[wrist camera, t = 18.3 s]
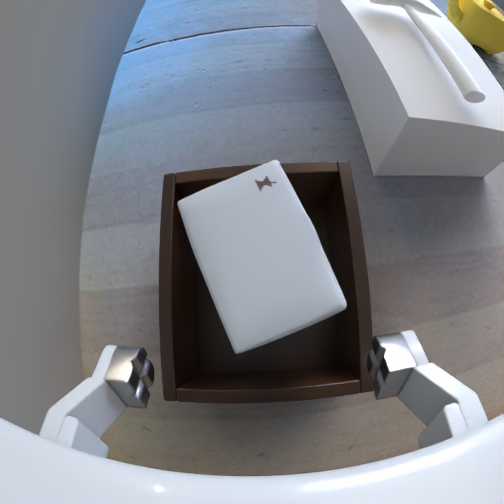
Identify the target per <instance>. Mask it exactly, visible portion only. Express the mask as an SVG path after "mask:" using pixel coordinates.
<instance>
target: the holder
mask: <svg viewBox="0 0 504 504" xmlns="http://www.w3.org/2000/svg"><path fill="white" fill-rule="evenodd" d="M261 165H263V164H257V165H244V166H232V167H221V168H212V169H202V170H194V171H185V172H178V173H176V174H175V173H170V174H165V175H164V181H163V193H162V208H161V226H160V251H159V325H160V350H161V368H162V382H163V394H164V400H166V401H178V402H195V403H270V402H287V401H300V400H311V399H320V398H329V397H337V396H344V395H351V394H357V393H363V392H369V391H373V387H372V384H373V382H374V379H373V378H372V377H371V376H369V373H368V369H367V356H368V352H369V351H370V350H371V349H372V348H373V347H372V344H371V342H372V339H373V336H372V319H371V306H370V294H369V284H368V274H367V265H366V257H365V250H364V242H363V235H362V229H361V222H360V216H359V210H358V205H357V199H356V194H355V189H354V184H353V179H352V174H351V169H350V164H349V161H337V162H336V161H321V162H292V163H280V165H281V167H282V169H283V170H284V172H285V174H286V176H287V178H288V180H289V182H290V183H291V185H292V187H293V189H294V191H295V193H296V195H297V197H298V199H299V200H300V202H301V204H302V206H303V208H304V210H305V212H306V214H307V215H308V217H309V218H310V220H311V222H312V224H313V226H314V228H315V230H316V233H317V235H318V238H319V240H320V243H321V246H322V248H323V250H324V253H325V255H326V257H327V259H328V262H329V264H330V266H331V268H332V271H333V273H334V275H335V277H336V279H337V282H338V284H339V286H340V288H341V291H342V293H343V295H344V297H345V300H346V304H347V306H346V309H345V310H343V311H341V312H339V313H337V314H335V315H333V316H331V317H328V318H326V319H324V320H322V321H320V322H317V323H315V324H313V325H311V326H308V327H306V328H304V329H301V330H299V331H297V332H294V333H292V334H289V335H287V336H284V337H282V338H280V339H277V340H275V341H272V342H270V343H267V344H264V345H262V346H259V347H256V348H254V349H251V350H248V351H245V352H242V353H239V354H237V353H235V352H234V350H233V347H232V344H231V342H230V340H229V338H228V335H227V333H226V330H225V328H224V326H223V323H222V321H221V318H220V316H219V314H218V311H217V309H216V306H215V304H214V301H213V299H212V296H211V294H210V291H209V289H208V286H207V284H206V281H205V279H204V276H203V274H202V272H201V269H200V267H199V264H198V262H197V260H196V257H195V255H194V252H193V249H192V247H191V244H190V241H189V238H188V235H187V232H186V229H185V226H184V223H183V220H182V217H181V214H180V211H179V208H178V201H180V200H182V199H184V198H186V197H188V196H190V195H192V194H194V193H197V192H199V191H201V190H203V189H206V188H208V187H210V186H213V185H215V184H217V183H220V182H222V181H225V180H227V179H230V178H232V177H234V176H237V175H239V174H241V173H244V172H246V171H249V170H251V169H253V168H256V167H258V166H261Z"/></svg>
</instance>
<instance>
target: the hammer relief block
mask: <svg viewBox="0 0 504 504" xmlns="http://www.w3.org/2000/svg"><path fill="white" fill-rule="evenodd" d="M316 25H317V27H318V29H319V31H320V33H321V35H322V37H323V39H324V42H325V44H326V46H327V48H328V50H329V52H330V55H331V57H332V59H333V61H334V64H335V66H336V68H337V71H338V73H339V75H340V78H341V80H342V83H343V85H344V88H345V90H346V93H347V96H348V98H349V101H350V104H351V106H352V109H353V112H354V115H355V118H356V120H357V123H358V126H359V129H360V132H361V135H362V139H363V142H364V145H365V148H366V151H367V155H368V158H369V162H370V165H371V169H372V172H373V176H397V175H438V176H473V177H485V176H486V175H487V174H488V173H490V172H491V171H492V170H493V169H494V168H496V167H497V166H498V165H499V164H500V163H501V162H503V161H504V91H503V90H502V88H501V86H500V85H499V83H498V82H497V80H496V79H495V77H494V76H493V74H492V73H491V71H490V70H489V69H488V67H487V66H486V64H485V63H484V62H483V60H482V59H481V58H480V56H479V55H478V54H477V52H476V51H475V50H474V49H473V47H472V46H471V45H470V44H469V42H468V41H467V40H466V39H465V38H464V36H463V35H462V34H461V33H460V32H459V31H458V29H457V28H456V27H455V26H454V25H453V24H452V23H451V22H450V21H449V20H448V18H447V17H446V16H445V15H444V14H443V13H442V12H441V11H440V10H439V9H438V8H437V7H436V6H435V5H434V4H433V3H432V2H431V1H430V0H318V9H317V20H316Z"/></svg>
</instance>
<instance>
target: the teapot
mask: <svg viewBox="0 0 504 504" xmlns="http://www.w3.org/2000/svg"><path fill="white" fill-rule="evenodd" d="M494 7H495V5H494V4H493V3H492V2H491V1H490V0H449V2H448V9H447V16H448V20H449V21H450V22H451V23H452V24H453V25H454V26H455V27H456V28H457V29H458V31H459V32H460V33H461V34H462V35H463V36H464V38H465V39H466V40H467V41H468V42H469V44H470V45H471V46H473V44H475V45H477V46H479V47H481V48H483V50H484V51H485V52H486V53H488V54H489V55H491V52H492V53H500V52H503V51H504V17H503V16H502V15H501V14H500V13H499V12H498V11H497V10H496V9H495V8H494Z"/></svg>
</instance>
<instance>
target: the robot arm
mask: <svg viewBox="0 0 504 504" xmlns="http://www.w3.org/2000/svg"><path fill="white" fill-rule="evenodd" d="M371 344H372V347H373V348H372V349H371V350H370V351H369V352H368V356H367V369H368V373H369V376H371V377H372V378H373V379H374V382H373V384H372V387H373V390H374V393H375V397H376V400H379V399H384V398H390V397H395V396H397V397H398V398H399V399H400V400H401V401H402V402H403V403H404V404H405V405H406V406H407V407H408V408H409V409H410V410H411V411H412V412H413V413H414V414H415V415H416V416H417V417H418V418H419V419H420V420H421V421H422V422H423V423H424V424H425V425H426V426H427V428H426V429H425V430H424V431H423V432H422V433H421V434H420V435H419V437H418V442H419V446H420V449H419V450H416V451H413V452H410V453H407V454H403V455H400V456H396V457H392V458H389V459H385V460H381V461H377V462H372V463H368V464H363V465H358V466H353V467H348V468H342V469H336V470H329V471H322V472H314V473H305V474H294V475H279V476H216V475H201V474H190V473H181V472H173V471H166V470H159V469H153V468H148V467H142V466H137V465H132V464H127V463H123V462H119V461H115V460H111V459H107V454H108V450H109V448H108V446H107V445H106V444H105V443H104V442H103V441H101V440H100V439H99V438H100V437H101V436H102V435H103V433H104V432H105V431H106V430H107V429H108V428H109V427H110V426H111V425H112V424H113V422H114V421H115V420H116V419H117V418H118V417H119V416H120V415H121V414H122V413H123V411H124V410H125V409H126V408H127V407H135V408H145V409H146V408H147V404H148V400H149V397H150V393H149V391H148V388H149V387H151V386H152V385H153V381H154V368H153V365H152V363H151V361H150V360H148V359H147V358H146V356H147V353H146V351H145V349H144V348H137V347H125V346H114V345H107V346H106V347H104V349H103V352H102V354H101V356H100V358H99V361H98V363H97V365H96V368H95V370H94V372H93V375H92V377H91V378H89V377H88V378H87V379H86V380H84V381H83V382H82V383H81V384H79V385H78V386H77V387H76V388H74V389H73V390H72V391H71V392H69V393H68V394H67V395H66V396H64V397H63V398H62V399H61V400H60V401H58V402H57V403H56V404H54V405H53V406H52V407H51V408H49V410H48V412H47V415H46V417H45V420H44V422H43V425H42V427H41V430H40V432H39V435H36V434H34V433H31V432H29V431H27V430H25V429H22V428H20V427H18V426H16V425H14V424H12V423H10V422H7V421H6V420H4V419H2V418H0V504H504V413H503V414H501V415H500V416H498V417H496V418H494V419H492V420H490V421H488V419H487V417H486V414H485V412H484V409H483V407H482V405H481V402H480V400H479V398H478V396H477V393H475V392H474V391H472V390H471V389H470V388H468V387H467V386H465V385H464V384H462V383H461V382H460V381H458V380H457V379H455V378H454V377H453V376H451V375H450V374H448V373H447V372H445V371H444V370H443V369H441V368H440V367H438V366H437V365H435V364H434V363H429V361H428V359H427V357H426V355H425V353H424V351H423V349H422V347H421V344H420V342H419V340H418V338H417V336H416V334H415V332H414V331H413V330H409V331H404V332H396V333H391V334H385V335H379V336H374V338H373V339H372V342H371Z"/></svg>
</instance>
